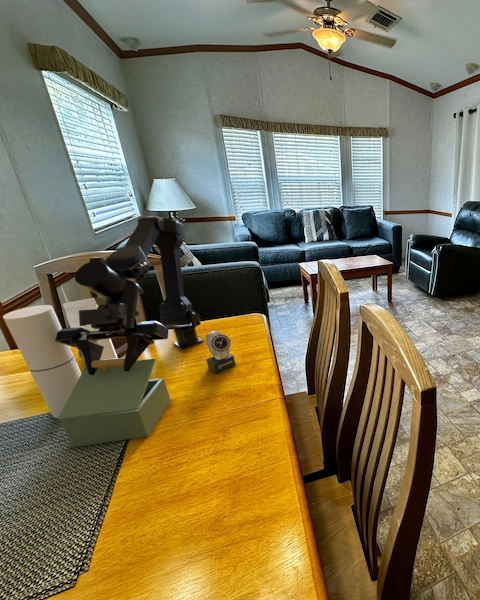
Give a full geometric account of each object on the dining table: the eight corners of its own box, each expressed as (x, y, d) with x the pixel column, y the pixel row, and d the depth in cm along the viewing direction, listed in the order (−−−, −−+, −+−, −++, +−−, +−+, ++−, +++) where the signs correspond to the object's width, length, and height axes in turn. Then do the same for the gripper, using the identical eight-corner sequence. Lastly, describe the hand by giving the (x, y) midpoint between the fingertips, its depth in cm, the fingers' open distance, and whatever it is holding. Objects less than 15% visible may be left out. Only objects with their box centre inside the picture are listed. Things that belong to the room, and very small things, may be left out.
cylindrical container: (68, 419, 74) (20, 320, 65) (43, 415, 75) (-7, 317, 66) (100, 399, 80) (61, 306, 71) (77, 396, 82) (36, 304, 72)
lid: (87, 367, 72) (74, 356, 69) (156, 360, 75) (147, 349, 72) (60, 420, 64) (44, 410, 61) (138, 409, 67) (127, 400, 64)
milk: (122, 374, 90) (95, 300, 82) (93, 383, 87) (61, 307, 78) (120, 365, 95) (94, 294, 86) (92, 373, 91) (62, 300, 83)
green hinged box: (107, 409, 77) (97, 385, 74) (171, 401, 80) (163, 377, 77) (72, 447, 66) (59, 421, 64) (148, 436, 69) (138, 410, 67)
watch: (219, 376, 89) (210, 341, 85) (205, 366, 94) (196, 332, 89) (239, 367, 93) (231, 332, 89) (225, 358, 98) (217, 325, 94)
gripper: (41, 293, 65) (20, 371, 60) (146, 287, 69) (136, 359, 63) (82, 313, 75) (68, 381, 70) (172, 306, 79) (165, 370, 73)
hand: (108, 373), depth 69 cm, fingers closed on lid, 6 cm apart
